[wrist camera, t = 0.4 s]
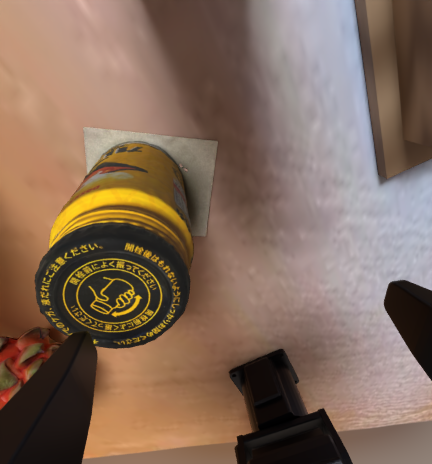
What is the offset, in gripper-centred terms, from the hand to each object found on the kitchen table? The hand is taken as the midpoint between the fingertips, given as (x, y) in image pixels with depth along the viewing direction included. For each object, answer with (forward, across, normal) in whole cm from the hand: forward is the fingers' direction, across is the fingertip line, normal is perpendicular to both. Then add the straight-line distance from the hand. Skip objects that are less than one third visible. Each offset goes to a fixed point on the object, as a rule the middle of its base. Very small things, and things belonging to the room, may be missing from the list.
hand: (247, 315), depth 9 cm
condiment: (+14, +3, 0) cm, 15 cm away
